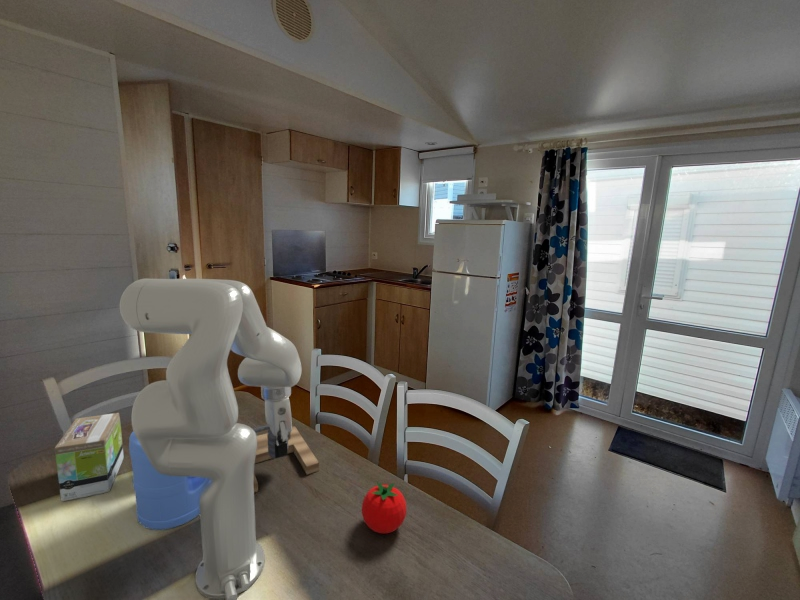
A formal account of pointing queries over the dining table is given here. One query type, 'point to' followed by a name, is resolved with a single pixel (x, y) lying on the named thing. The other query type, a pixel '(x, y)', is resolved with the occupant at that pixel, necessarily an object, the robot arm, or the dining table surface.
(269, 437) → the coil
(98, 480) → the tea box
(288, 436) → the metal bar handle
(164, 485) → the water jug
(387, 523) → the tomato
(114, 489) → the dining table surface
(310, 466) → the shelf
